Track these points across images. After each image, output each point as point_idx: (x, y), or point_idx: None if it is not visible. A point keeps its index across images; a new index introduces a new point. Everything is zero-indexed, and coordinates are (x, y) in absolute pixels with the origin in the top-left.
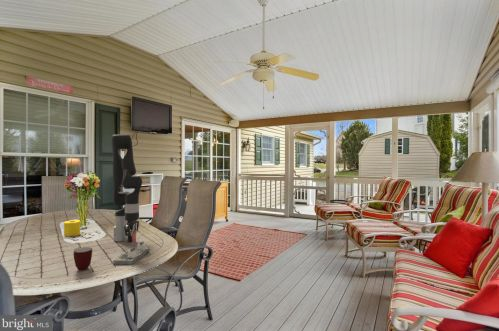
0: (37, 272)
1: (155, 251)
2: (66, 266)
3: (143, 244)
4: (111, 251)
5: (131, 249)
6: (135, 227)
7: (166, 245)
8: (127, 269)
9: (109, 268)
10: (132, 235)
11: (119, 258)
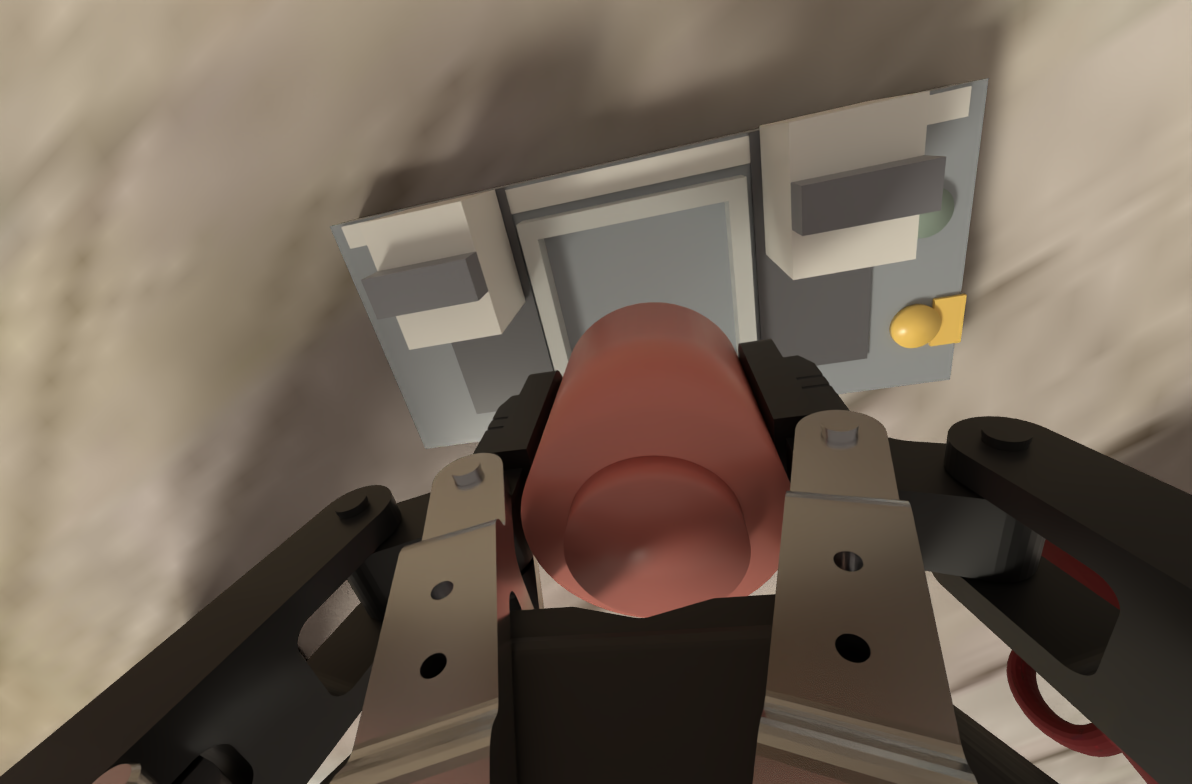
0: (1090, 758)
1: (320, 83)
2: (971, 680)
3: (447, 223)
4: (545, 585)
5: (928, 190)
6: (502, 628)
7: (13, 77)
8: (1182, 6)
9: (1082, 312)
10: (757, 420)
11: (896, 338)
